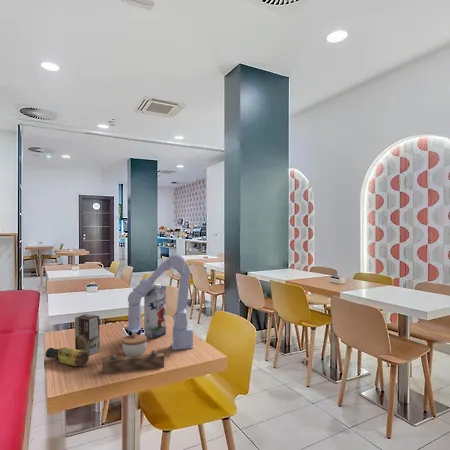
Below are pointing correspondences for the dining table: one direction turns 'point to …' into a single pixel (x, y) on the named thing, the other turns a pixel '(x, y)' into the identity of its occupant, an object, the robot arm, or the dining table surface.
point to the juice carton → (155, 312)
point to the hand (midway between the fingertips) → (134, 346)
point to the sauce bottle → (68, 356)
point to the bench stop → (132, 362)
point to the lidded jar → (134, 345)
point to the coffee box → (87, 333)
